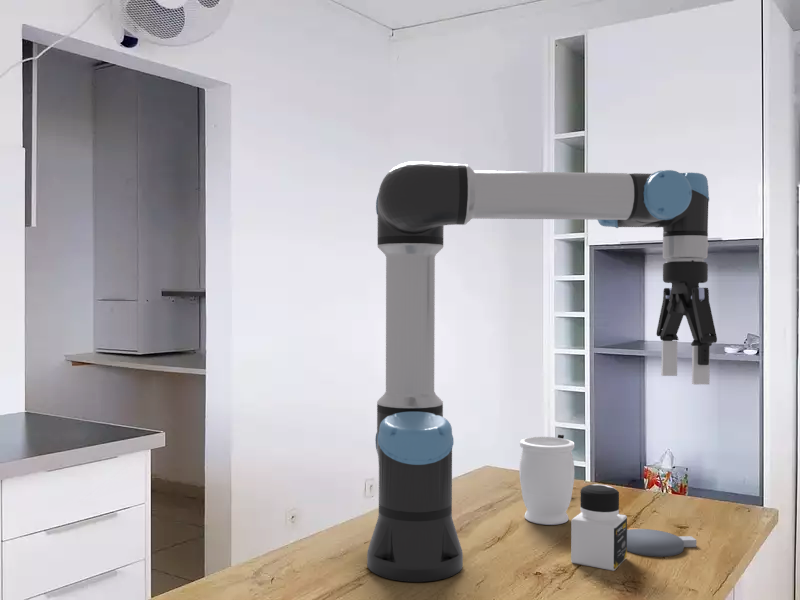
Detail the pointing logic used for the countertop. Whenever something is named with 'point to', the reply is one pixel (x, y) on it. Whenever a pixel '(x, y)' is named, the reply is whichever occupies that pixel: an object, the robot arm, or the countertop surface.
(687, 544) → the pad
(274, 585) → the countertop surface
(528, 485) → the jar
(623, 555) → the medicine bottle
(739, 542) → the countertop surface
